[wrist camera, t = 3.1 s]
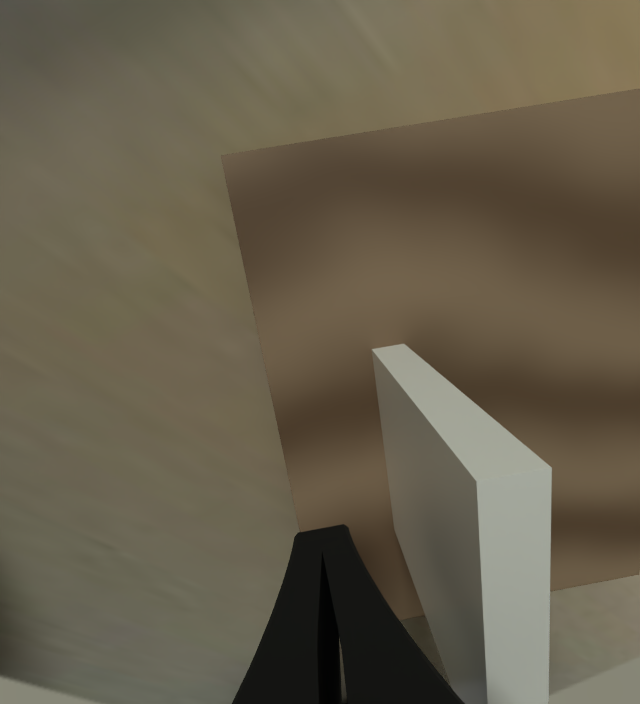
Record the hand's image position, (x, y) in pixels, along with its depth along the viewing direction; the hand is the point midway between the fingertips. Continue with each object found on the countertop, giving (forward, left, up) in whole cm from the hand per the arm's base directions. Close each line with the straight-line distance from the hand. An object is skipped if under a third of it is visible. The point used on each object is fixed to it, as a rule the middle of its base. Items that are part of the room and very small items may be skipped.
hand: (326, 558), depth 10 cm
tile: (0, -3, -5) cm, 6 cm away
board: (+1, -6, -6) cm, 9 cm away
